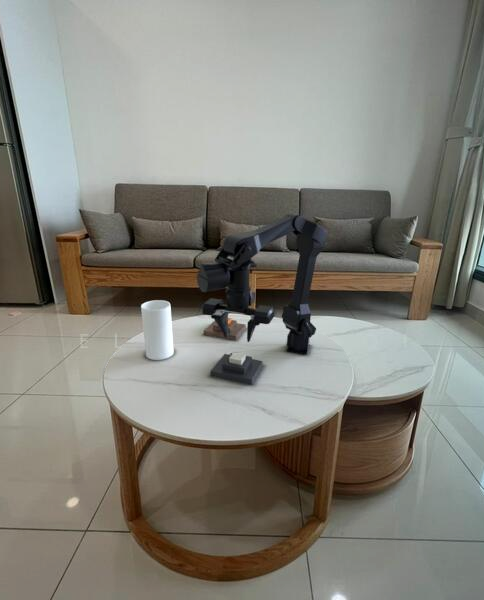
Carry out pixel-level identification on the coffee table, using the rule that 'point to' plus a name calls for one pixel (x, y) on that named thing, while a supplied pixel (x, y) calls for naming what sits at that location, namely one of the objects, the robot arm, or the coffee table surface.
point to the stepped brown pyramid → (233, 330)
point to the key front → (237, 358)
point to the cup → (157, 329)
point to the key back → (229, 321)
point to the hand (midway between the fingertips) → (237, 339)
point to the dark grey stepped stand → (237, 370)
